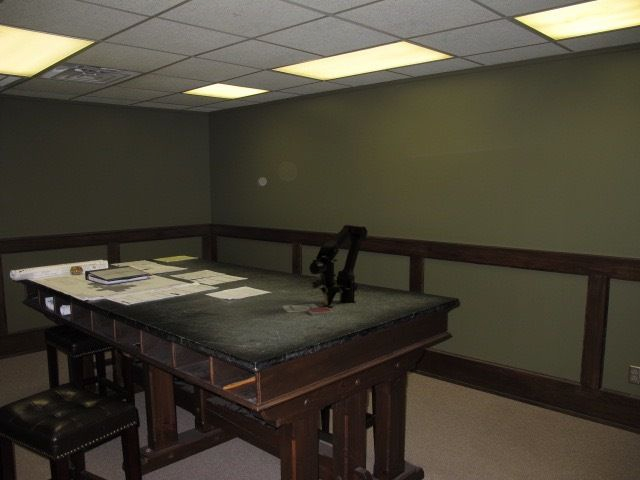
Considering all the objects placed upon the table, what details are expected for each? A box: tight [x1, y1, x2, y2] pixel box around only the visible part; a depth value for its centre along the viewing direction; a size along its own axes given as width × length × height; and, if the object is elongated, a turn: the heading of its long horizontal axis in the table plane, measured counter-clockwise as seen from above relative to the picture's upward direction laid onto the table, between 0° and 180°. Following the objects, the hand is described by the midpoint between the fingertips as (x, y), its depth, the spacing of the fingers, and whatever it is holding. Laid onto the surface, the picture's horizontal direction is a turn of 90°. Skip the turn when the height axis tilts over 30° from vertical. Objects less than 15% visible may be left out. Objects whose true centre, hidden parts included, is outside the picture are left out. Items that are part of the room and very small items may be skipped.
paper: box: [281, 303, 320, 314], centre depth 240 cm, size 16×12×1 cm
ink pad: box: [306, 306, 334, 316], centre depth 233 cm, size 10×8×2 cm
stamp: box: [322, 293, 334, 309], centre depth 243 cm, size 5×5×8 cm
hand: (328, 303), depth 243 cm, fingers closed on stamp, 4 cm apart
